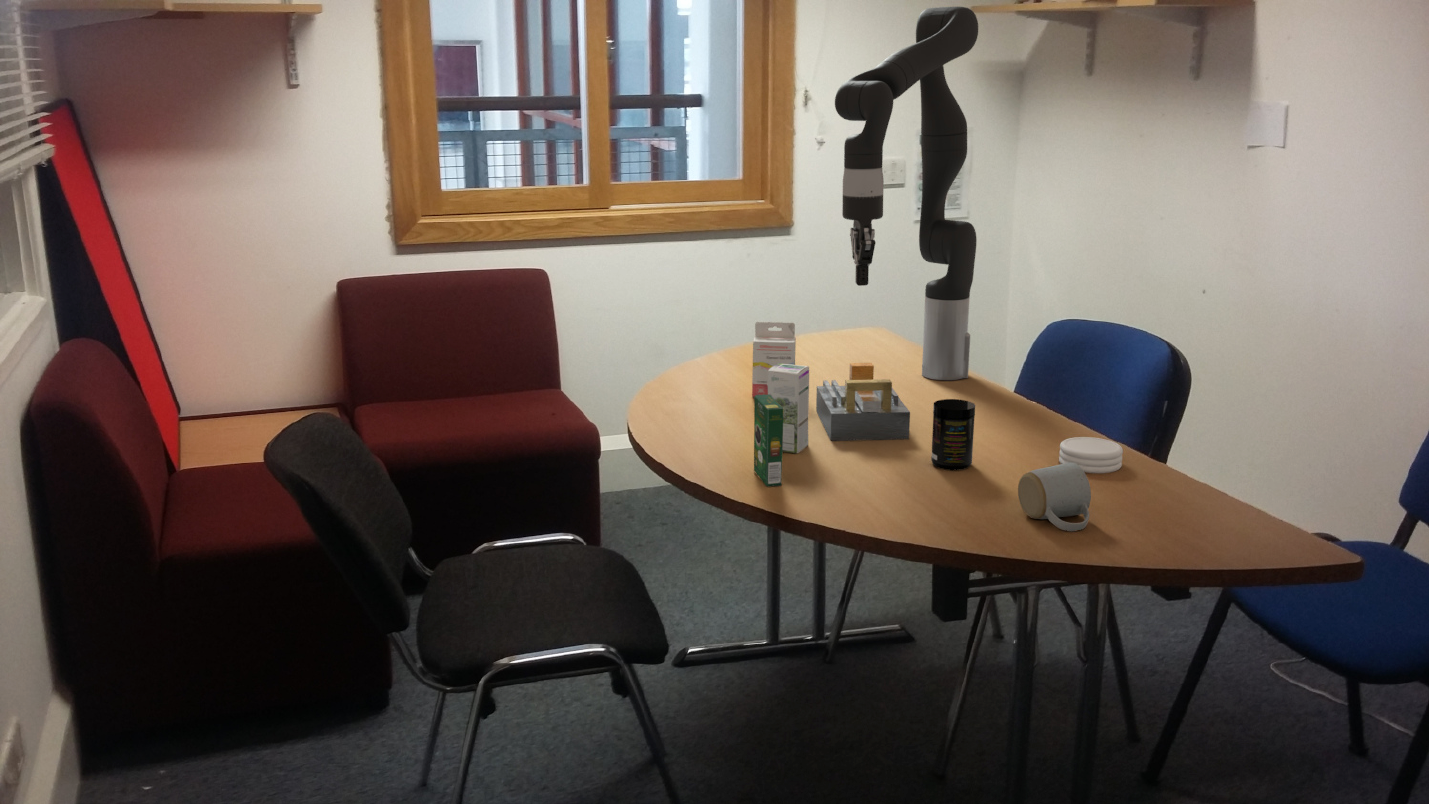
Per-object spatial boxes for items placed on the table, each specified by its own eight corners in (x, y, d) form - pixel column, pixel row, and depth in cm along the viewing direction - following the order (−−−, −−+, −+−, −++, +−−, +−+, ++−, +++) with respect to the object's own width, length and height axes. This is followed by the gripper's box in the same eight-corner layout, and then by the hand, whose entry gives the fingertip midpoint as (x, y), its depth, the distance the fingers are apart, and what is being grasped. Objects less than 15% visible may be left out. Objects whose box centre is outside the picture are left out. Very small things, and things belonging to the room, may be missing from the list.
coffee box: (783, 486, 183) (784, 406, 180) (766, 488, 182) (766, 407, 179) (770, 470, 191) (770, 393, 187) (753, 471, 190) (753, 394, 187)
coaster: (1046, 459, 196) (1047, 439, 195) (1095, 452, 199) (1096, 433, 198) (1083, 477, 187) (1085, 457, 186) (1134, 470, 190) (1136, 450, 189)
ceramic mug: (1012, 510, 173) (1016, 461, 170) (1059, 503, 175) (1063, 455, 173) (1054, 537, 163) (1058, 485, 161) (1103, 529, 165) (1108, 479, 163)
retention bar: (870, 394, 216) (871, 362, 214) (882, 411, 204) (883, 378, 203) (849, 394, 216) (849, 363, 214) (860, 412, 204) (861, 379, 203)
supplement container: (979, 469, 191) (983, 407, 188) (943, 473, 189) (946, 411, 186) (959, 456, 197) (962, 397, 194) (923, 461, 195) (926, 401, 192)
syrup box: (809, 445, 204) (810, 364, 200) (797, 454, 198) (798, 372, 195) (779, 441, 206) (779, 361, 202) (766, 450, 201) (766, 369, 197)
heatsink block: (888, 409, 225) (890, 359, 222) (909, 439, 207) (911, 384, 204) (816, 411, 224) (817, 360, 222) (830, 440, 206) (831, 386, 203)
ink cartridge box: (751, 398, 234) (751, 326, 230) (753, 391, 239) (753, 321, 235) (794, 398, 233) (795, 326, 229) (795, 392, 238) (796, 321, 234)
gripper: (890, 196, 209) (888, 290, 214) (876, 188, 222) (874, 277, 227) (849, 197, 209) (848, 292, 214) (837, 189, 222) (836, 279, 227)
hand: (861, 284), depth 221 cm, fingers closed
